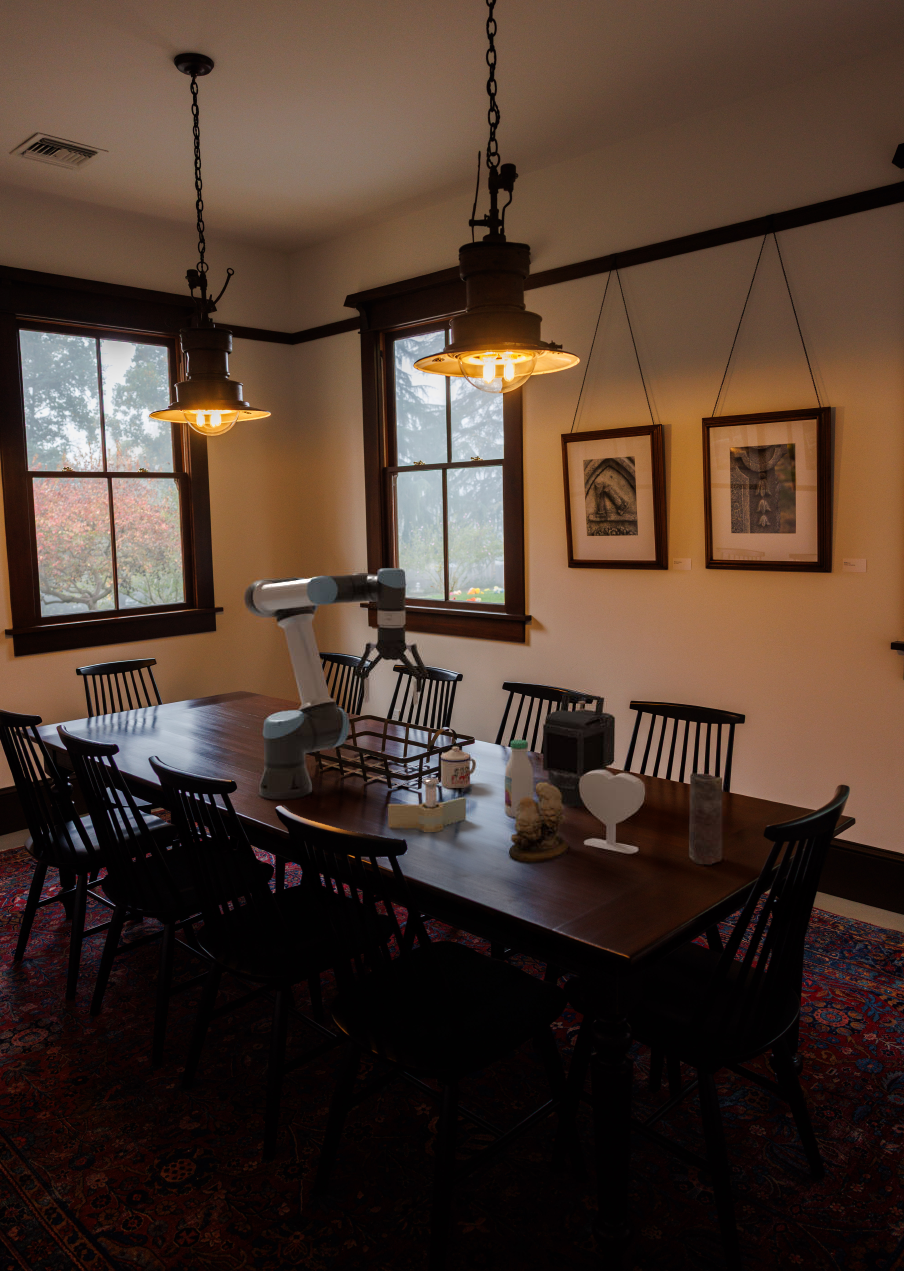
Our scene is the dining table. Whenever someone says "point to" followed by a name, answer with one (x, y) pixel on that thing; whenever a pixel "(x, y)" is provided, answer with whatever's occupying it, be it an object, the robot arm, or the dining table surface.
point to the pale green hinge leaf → (448, 813)
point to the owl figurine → (539, 827)
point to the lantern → (576, 745)
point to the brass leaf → (414, 816)
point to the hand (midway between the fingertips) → (391, 702)
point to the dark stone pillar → (705, 819)
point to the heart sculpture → (611, 803)
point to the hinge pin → (431, 792)
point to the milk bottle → (518, 777)
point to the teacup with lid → (456, 768)
